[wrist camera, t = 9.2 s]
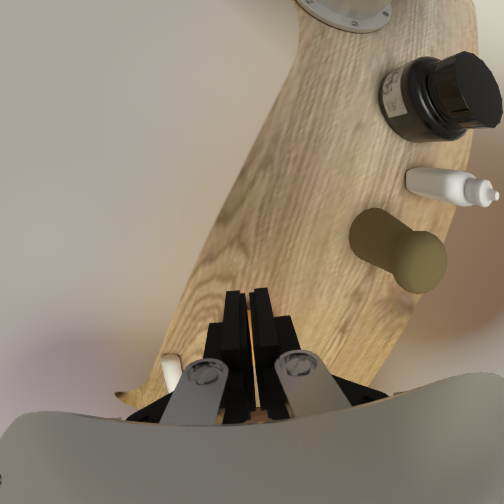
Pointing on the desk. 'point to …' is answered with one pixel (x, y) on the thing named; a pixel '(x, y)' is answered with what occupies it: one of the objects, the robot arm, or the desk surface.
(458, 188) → the eye dropper bottle
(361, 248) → the olive pawn
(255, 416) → the rail
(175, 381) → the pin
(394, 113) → the ink bottle
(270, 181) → the desk surface
